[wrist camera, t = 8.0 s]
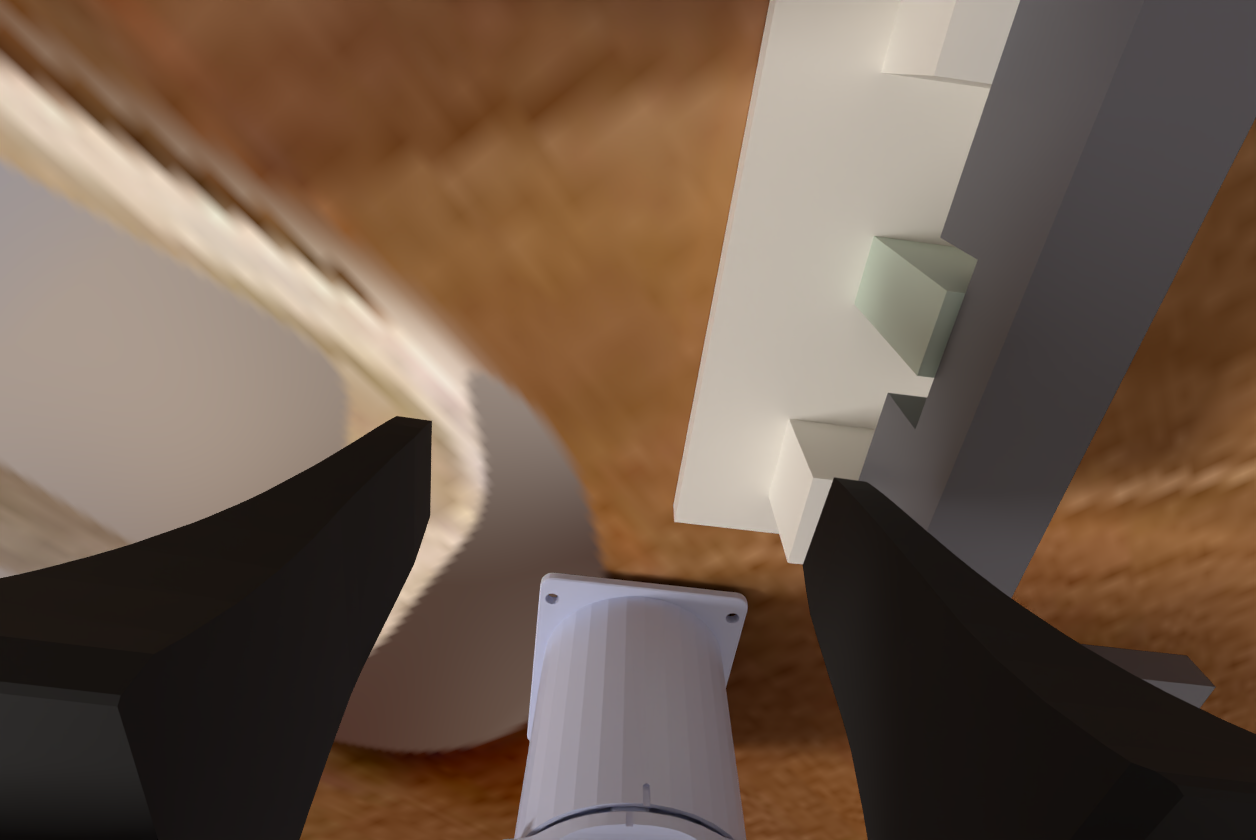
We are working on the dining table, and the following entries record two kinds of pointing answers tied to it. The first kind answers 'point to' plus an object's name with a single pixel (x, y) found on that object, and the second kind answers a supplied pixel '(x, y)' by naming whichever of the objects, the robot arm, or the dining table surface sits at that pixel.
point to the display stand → (835, 251)
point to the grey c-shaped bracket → (1066, 267)
